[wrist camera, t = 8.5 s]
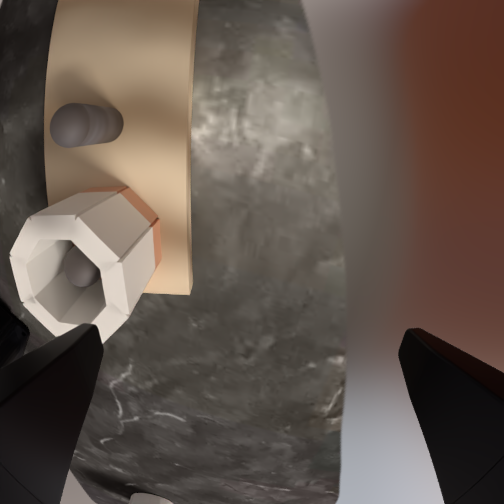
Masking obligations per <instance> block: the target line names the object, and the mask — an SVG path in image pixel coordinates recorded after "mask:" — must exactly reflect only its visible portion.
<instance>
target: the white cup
mask: <svg viewBox="0 0 504 504" xmlns="http://www.w3.org/2000/svg"><path fill="white" fill-rule="evenodd" d="M129 504H173V503H172V502H171V501H169V500H167V499H165V498H163V497H160V496H156V495H153V494H147V493H134V494H133V495H131V499H130V502H129Z"/></svg>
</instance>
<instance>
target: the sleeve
mask: <svg viewBox="0 0 504 504" xmlns="http://www.w3.org/2000/svg"><path fill="white" fill-rule="evenodd" d="M157 217H158V215H157V214H156V213H155V212H154V211H153V210H152V209H151V208H150V207H149V206H148V205H147V204H146V203H145V202H144V201H143V200H142V199H141V198H140V197H139V196H138V195H137V194H136V193H135V192H134V191H133V190H132V189H131V188H130V187H129V188H128V189H127V186H117V187H91V188H89V189H87V190H84V191H82V192H80V193H77V194H75V195H73V196H71V197H69V198H66V199H64V200H62V201H60V202H58V203H56V204H54V205H52V206H50V207H48V208H46V209H43V210H41V211H39V212H37V213H35V214H34V215H32V216H30V217H28V219H27V221H26V223H25V224H24V226H23V228H22V230H21V232H20V234H19V236H18V238H17V240H16V242H15V244H14V246H13V248H12V250H11V252H10V254H11V256H10V261H11V265H12V269H13V273H14V277H15V281H16V285H17V289H18V292H19V296H20V299H21V302H24V304H23V305H24V306H25V307H26V308H27V309H28V310H29V311H30V312H31V313H32V314H33V315H34V316H35V317H36V318H37V319H38V320H39V321H40V322H41V323H42V324H43V325H44V326H45V327H46V328H47V329H48V330H49V331H50V332H51V333H52V334H54V335H55V336H56V337H57V336H60V335H62V334H64V333H66V332H68V331H70V330H71V329H73V328H75V327H77V326H79V325H81V324H83V323H90V324H95V325H96V326H97V327H98V329H99V333H100V337H101V341H102V344H103V343H104V342H105V341H106V340H107V339H108V338H109V337H110V336H111V335H112V334H113V333H114V332H115V331H116V330H117V329H118V328H119V327H120V326H121V325H122V324H123V323H124V322H125V321H126V320H127V319H128V318H129V316H130V314H131V313H132V311H133V309H134V307H135V305H136V303H137V302H138V300H139V298H140V296H141V294H142V293H143V291H144V289H145V287H146V285H147V284H148V282H149V280H150V278H151V277H152V275H153V273H154V271H155V270H156V268H157V266H158V265H159V263H160V261H161V258H162V252H161V234H160V219H156V218H157ZM74 246H77V247H78V248H79V249H80V250H81V251H82V252H83V253H84V254H85V255H86V256H87V257H88V258H89V259H90V260H91V261H92V262H93V263H94V264H95V265H96V266H97V267H98V268H99V269H100V272H101V277H100V278H99V280H98V281H97V282H96V283H95V284H93V285H91V286H88V287H78V286H76V285H74V284H72V283H71V282H70V281H69V280H68V279H67V277H66V275H65V272H64V266H63V265H64V259H65V256H66V255H67V253H68V252H69V251H70V250H71V249H72V248H73V247H74Z"/></svg>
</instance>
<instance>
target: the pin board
mask: <svg viewBox="0 0 504 504" xmlns="http://www.w3.org/2000/svg"><path fill="white" fill-rule="evenodd" d="M198 7H199V0H58V4H57V8H56V13H55V18H54V23H53V29H52V35H51V42H50V49H49V56H48V65H47V75H46V88H45V107H44V153H45V173H46V186H47V197H48V207H50V206H52V205H54V204H56V203H58V202H60V201H62V200H64V199H66V198H69V197H71V196H73V195H75V194H77V193H80V192H82V191H84V190H87V189H89V188H91V187H117V186H127V189H128V188H129V187H130V188H131V189H132V190H133V191H134V192H135V193H136V194H137V195H138V196H139V197H140V198H141V199H142V200H143V201H144V202H145V203H146V204H147V205H148V206H149V207H150V208H151V209H152V210H153V211H154V212H155V213H156V214H157V215H158V217H157V218H156V219H160V234H161V252H162V258H161V261H160V263H159V265H158V266H157V268H156V270H155V271H154V273H153V275H152V277H151V278H150V280H149V282H148V284H147V285H146V287H145V289H144V291H143V293H159V294H180V295H190V292H191V288H192V285H193V273H192V245H191V120H192V93H193V73H194V57H195V42H196V29H197V18H198ZM63 266H64V272H65V275H66V277H67V279H68V280H69V281H70V282H71V283H72V284H74V285H76V286H78V287H88V286H91V285H93V284H95V283H96V282H97V281H98V280H99V278H100V277H101V272H100V269H99V268H98V267H97V266H96V265H95V264H94V263H93V262H92V261H91V260H90V259H89V258H88V257H87V256H86V255H85V254H84V253H83V252H82V251H81V250H80V249H79V248H78V247H77V246H74V247H73V248H72V249H71V250H70V251H69V252H68V253H67V255H66V256H65V259H64V265H63Z"/></svg>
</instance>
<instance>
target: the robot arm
mask: <svg viewBox="0 0 504 504" xmlns="http://www.w3.org/2000/svg"><path fill="white" fill-rule="evenodd" d="M29 336H30V332H29V330H28V329H27V328H26V327H25V326H24V325H22V324H21V323H20V322H19V321H18V320H17V319H16V318H15V317H13V316H12V315H11V314H10V313H9V312H8V311H7V310H6V309H5V308H4V307H3V306H2V305H1V304H0V504H60V501H61V497H62V493H63V489H64V485H65V481H66V477H67V474H68V471H69V467H70V464H71V460H72V457H73V454H74V450H75V447H76V444H77V441H78V438H79V435H80V431H81V428H82V425H83V422H84V420H85V417H86V414H87V411H88V408H89V405H90V402H91V399H92V396H93V393H94V389H95V385H96V380H97V376H98V372H99V369H100V365H101V361H102V357H103V352H104V349H103V344H102V341H101V337H100V333H99V329H98V327H97V326H96V325H95V324H90V323H83V324H81V325H79V326H77V327H75V328H73V329H71V330H70V331H68V332H66V333H64V334H62V335H60V336H58V337H57V338H55V339H53V340H51V341H49V342H48V343H46V344H44V345H42V346H40V347H38V348H37V349H35V350H33V351H31V352H29V353H28V354H26V355H24V356H23V354H24V351H25V348H26V345H27V341H28V338H29ZM398 356H399V361H400V364H401V368H402V371H403V375H404V378H405V382H406V385H407V389H408V393H409V396H410V399H411V402H412V405H413V408H414V410H415V413H416V415H417V418H418V421H419V424H420V427H421V429H422V432H423V435H424V438H425V441H426V444H427V447H428V450H429V453H430V456H431V459H432V462H433V466H434V469H435V472H436V475H437V479H438V482H439V486H440V489H441V492H442V496H443V500H444V503H445V504H504V373H503V372H501V371H499V370H498V369H496V368H494V367H492V366H490V365H488V364H487V363H485V362H483V361H481V360H479V359H477V358H475V357H473V356H472V355H470V354H468V353H466V352H464V351H462V350H460V349H459V348H457V347H455V346H453V345H451V344H449V343H447V342H445V341H443V340H442V339H440V338H438V337H436V336H434V335H432V334H430V333H428V332H426V331H425V330H423V329H421V328H409V329H407V330H406V332H405V334H404V337H403V340H402V343H401V346H400V349H399V353H398Z"/></svg>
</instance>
